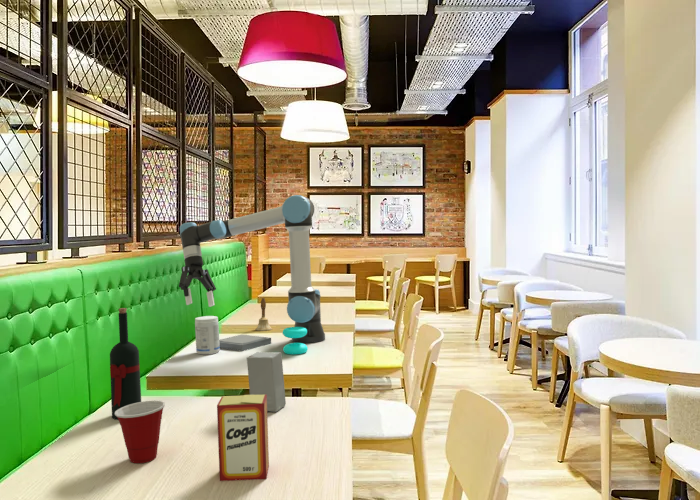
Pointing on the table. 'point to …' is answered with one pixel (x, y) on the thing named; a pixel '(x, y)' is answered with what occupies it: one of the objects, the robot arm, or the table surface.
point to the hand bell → (263, 318)
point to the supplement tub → (207, 335)
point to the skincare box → (267, 378)
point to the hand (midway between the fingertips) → (200, 305)
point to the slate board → (243, 342)
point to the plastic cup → (141, 429)
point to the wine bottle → (124, 369)
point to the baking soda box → (243, 437)
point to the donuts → (295, 347)
